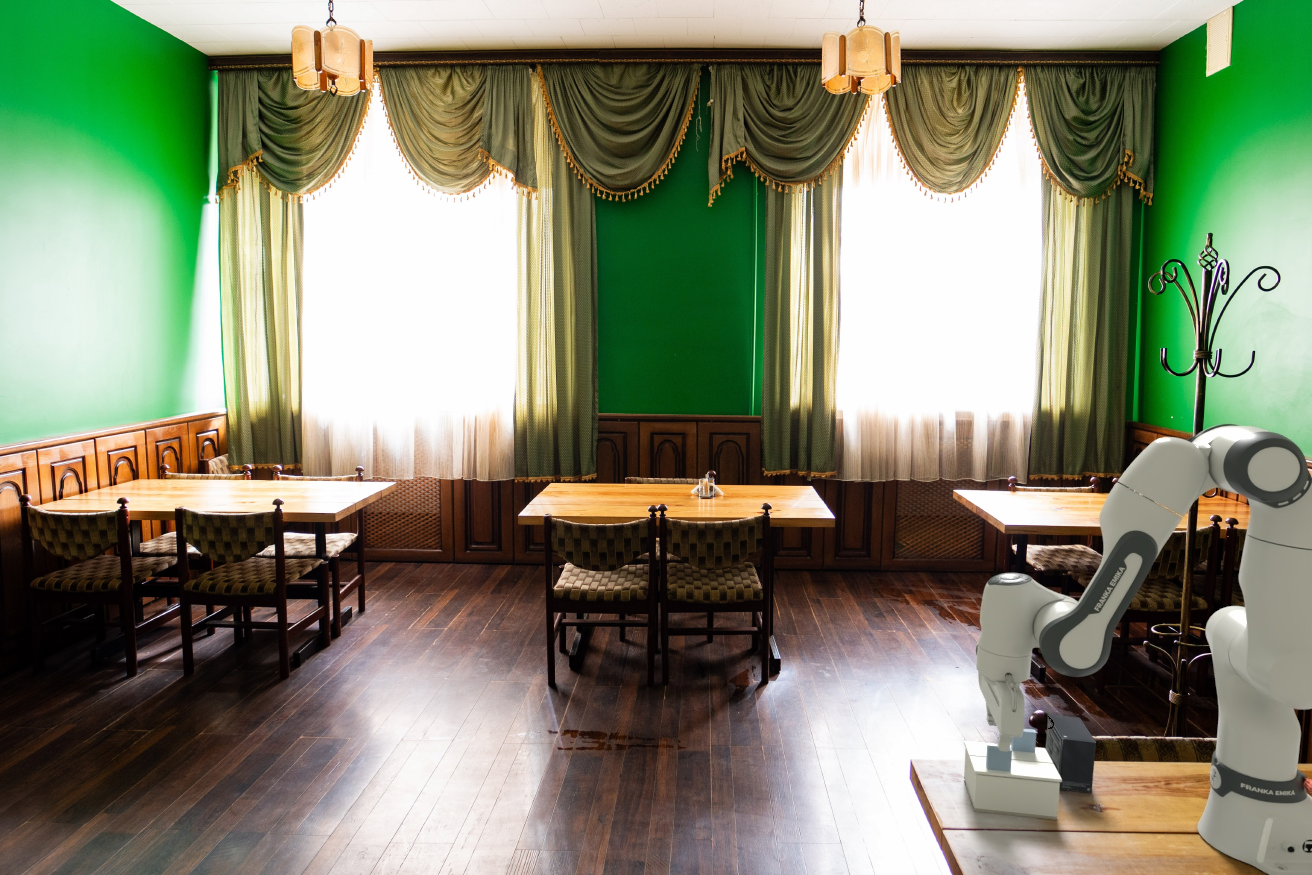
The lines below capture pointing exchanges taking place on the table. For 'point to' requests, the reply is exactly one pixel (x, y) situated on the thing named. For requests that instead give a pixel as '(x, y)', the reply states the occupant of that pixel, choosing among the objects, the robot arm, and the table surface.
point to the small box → (1071, 752)
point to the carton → (1011, 794)
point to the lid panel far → (1014, 748)
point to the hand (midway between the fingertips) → (997, 736)
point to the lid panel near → (1012, 766)
